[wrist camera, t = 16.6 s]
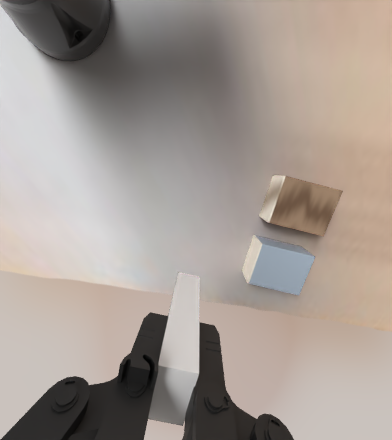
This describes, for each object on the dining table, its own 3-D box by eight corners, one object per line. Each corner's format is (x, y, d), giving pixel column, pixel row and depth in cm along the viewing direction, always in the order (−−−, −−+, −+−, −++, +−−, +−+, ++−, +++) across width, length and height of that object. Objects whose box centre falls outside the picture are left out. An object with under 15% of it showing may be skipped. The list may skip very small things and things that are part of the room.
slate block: (260, 243, 34) (315, 256, 34) (253, 234, 39) (301, 246, 39) (247, 283, 36) (298, 295, 36) (241, 270, 41) (287, 281, 41)
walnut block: (283, 175, 31) (342, 191, 32) (272, 175, 36) (323, 188, 36) (267, 222, 33) (323, 236, 33) (259, 216, 38) (307, 228, 38)
